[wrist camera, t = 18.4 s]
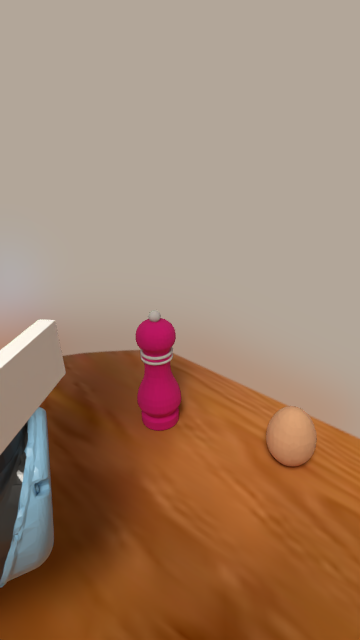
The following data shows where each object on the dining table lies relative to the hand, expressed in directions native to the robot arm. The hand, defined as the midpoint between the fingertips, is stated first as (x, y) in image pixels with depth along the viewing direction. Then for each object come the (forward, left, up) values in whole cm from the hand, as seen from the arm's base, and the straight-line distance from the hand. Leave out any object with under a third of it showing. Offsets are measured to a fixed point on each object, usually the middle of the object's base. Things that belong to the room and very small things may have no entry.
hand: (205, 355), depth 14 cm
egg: (+27, -1, -32) cm, 42 cm away
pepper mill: (+26, +20, -32) cm, 46 cm away
